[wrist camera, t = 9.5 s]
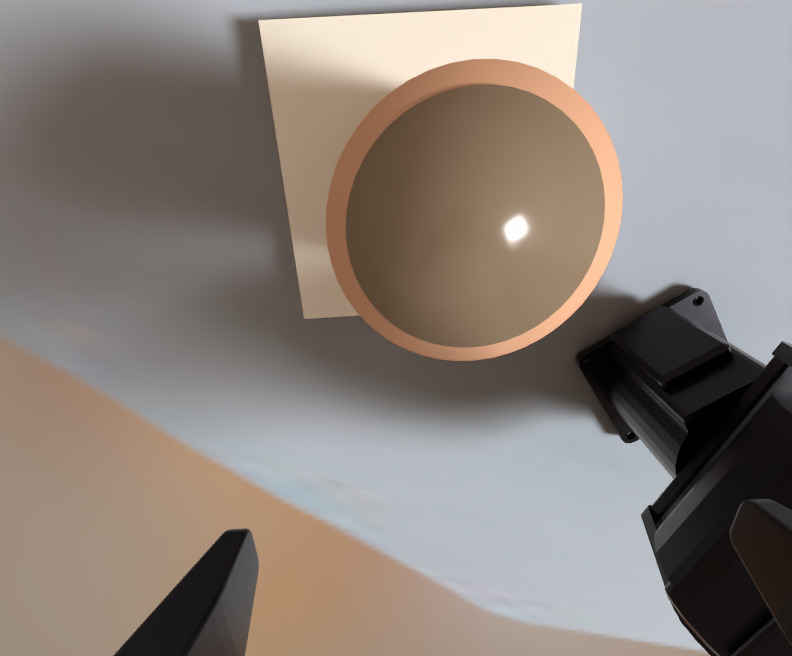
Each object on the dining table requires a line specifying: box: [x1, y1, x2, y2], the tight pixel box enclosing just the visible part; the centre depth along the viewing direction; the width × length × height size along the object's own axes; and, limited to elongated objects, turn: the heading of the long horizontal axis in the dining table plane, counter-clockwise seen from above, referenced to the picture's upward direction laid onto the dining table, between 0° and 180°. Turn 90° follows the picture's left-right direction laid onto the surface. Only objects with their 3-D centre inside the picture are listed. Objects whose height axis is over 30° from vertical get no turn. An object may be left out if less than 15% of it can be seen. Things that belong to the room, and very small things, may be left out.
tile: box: [258, 4, 582, 319], centre depth 17 cm, size 11×11×1 cm
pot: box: [326, 59, 623, 361], centre depth 13 cm, size 6×6×9 cm
